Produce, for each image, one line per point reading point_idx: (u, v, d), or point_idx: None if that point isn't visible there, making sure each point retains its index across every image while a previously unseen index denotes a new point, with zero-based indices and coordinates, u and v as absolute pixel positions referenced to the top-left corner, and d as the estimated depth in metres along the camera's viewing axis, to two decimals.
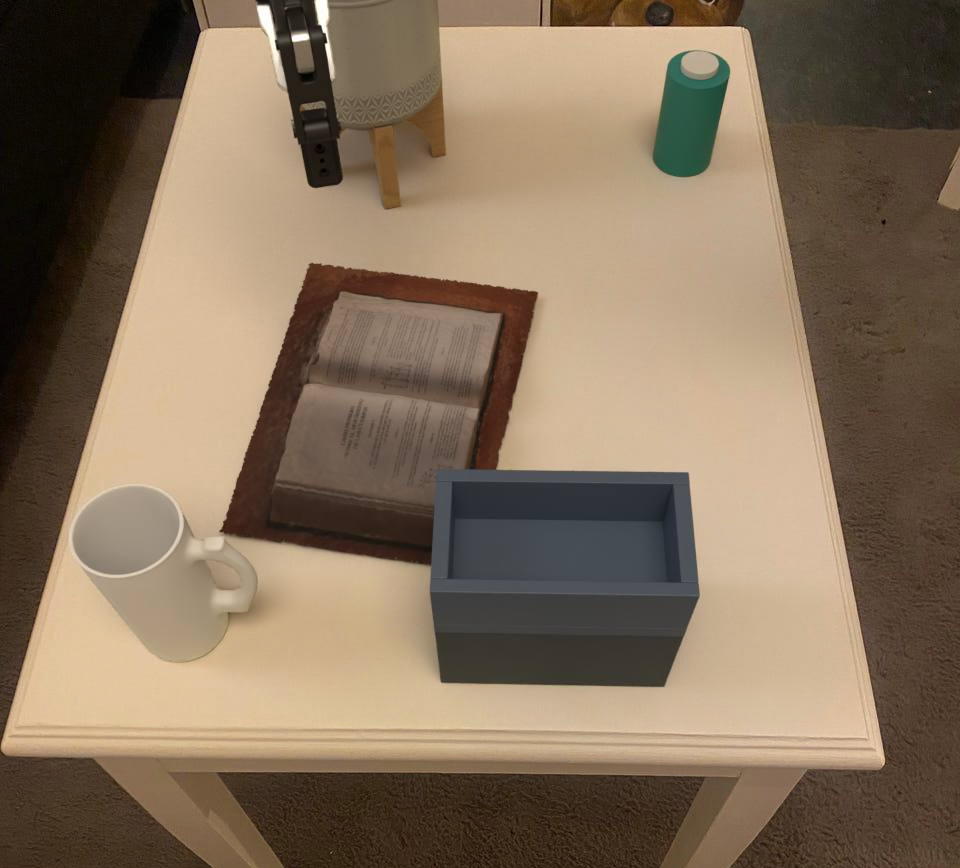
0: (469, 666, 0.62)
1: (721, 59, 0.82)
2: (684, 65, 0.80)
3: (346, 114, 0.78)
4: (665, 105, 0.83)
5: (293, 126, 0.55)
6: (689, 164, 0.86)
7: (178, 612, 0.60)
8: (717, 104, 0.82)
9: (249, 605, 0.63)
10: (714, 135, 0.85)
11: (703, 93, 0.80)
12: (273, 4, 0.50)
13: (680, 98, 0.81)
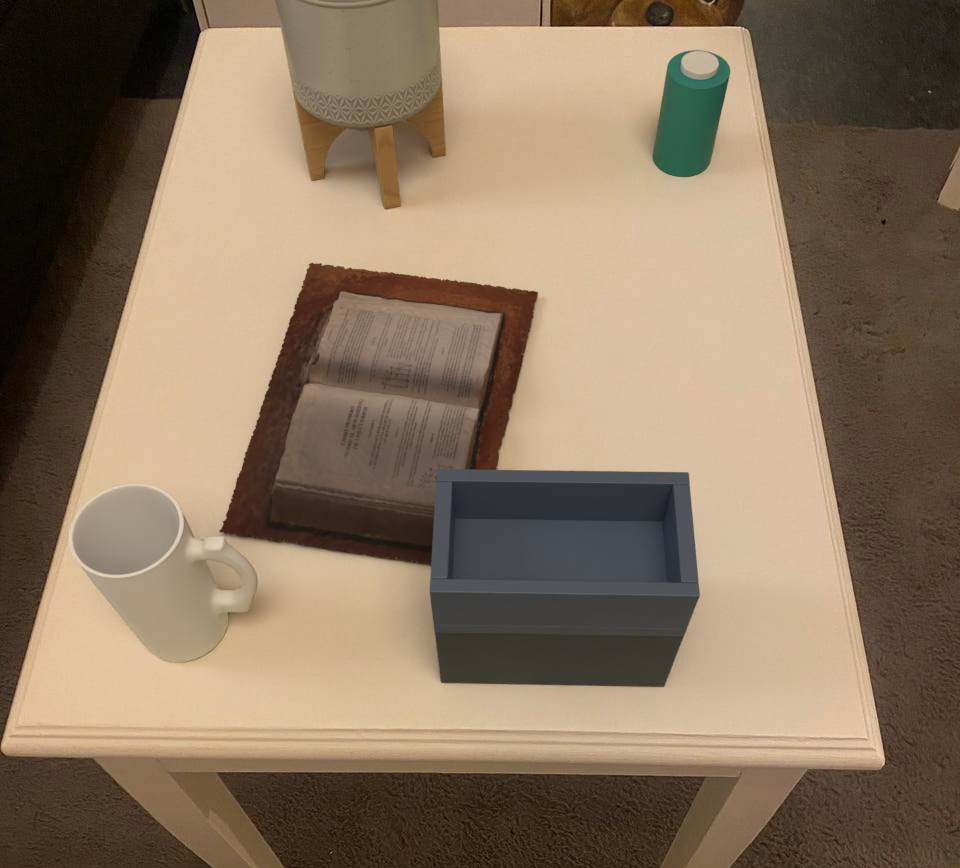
0: (469, 666, 0.62)
1: (721, 59, 0.82)
2: (684, 65, 0.80)
3: (346, 114, 0.78)
4: (665, 105, 0.83)
5: None
6: (689, 164, 0.86)
7: (178, 612, 0.60)
8: (717, 104, 0.82)
9: (249, 605, 0.63)
10: (714, 135, 0.85)
11: (703, 93, 0.80)
12: None
13: (680, 98, 0.81)
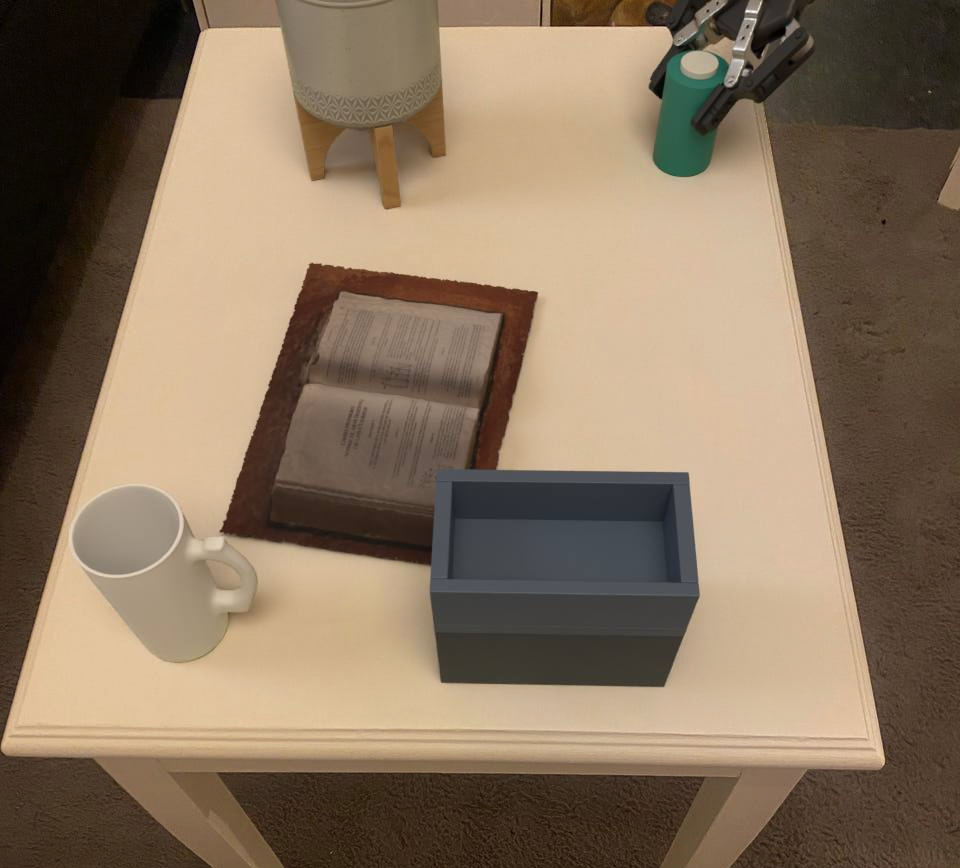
0: (469, 666, 0.62)
1: (721, 59, 0.82)
2: (684, 65, 0.80)
3: (346, 114, 0.78)
4: (664, 105, 0.83)
5: None
6: (689, 164, 0.86)
7: (178, 612, 0.60)
8: None
9: (249, 605, 0.63)
10: (714, 135, 0.85)
11: (703, 93, 0.80)
12: None
13: (680, 98, 0.81)
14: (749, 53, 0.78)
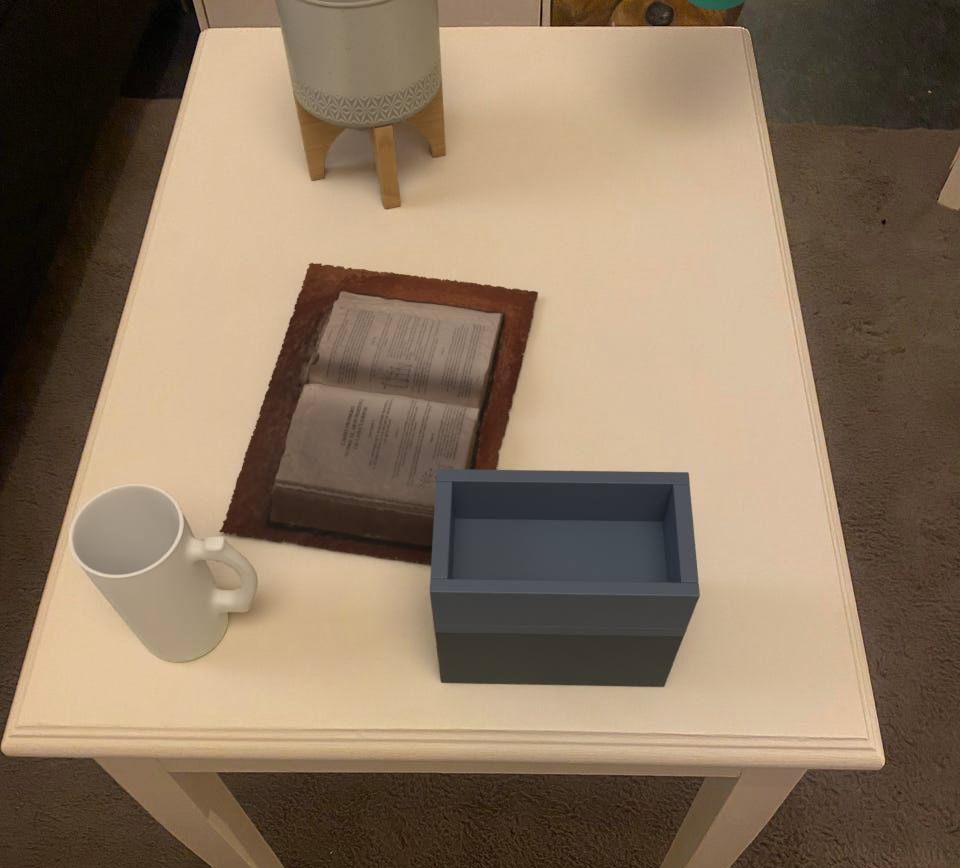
0: (469, 666, 0.62)
1: None
2: None
3: (346, 114, 0.78)
4: None
5: None
6: None
7: (178, 612, 0.60)
8: None
9: (249, 605, 0.63)
10: None
11: None
12: None
13: None
14: None
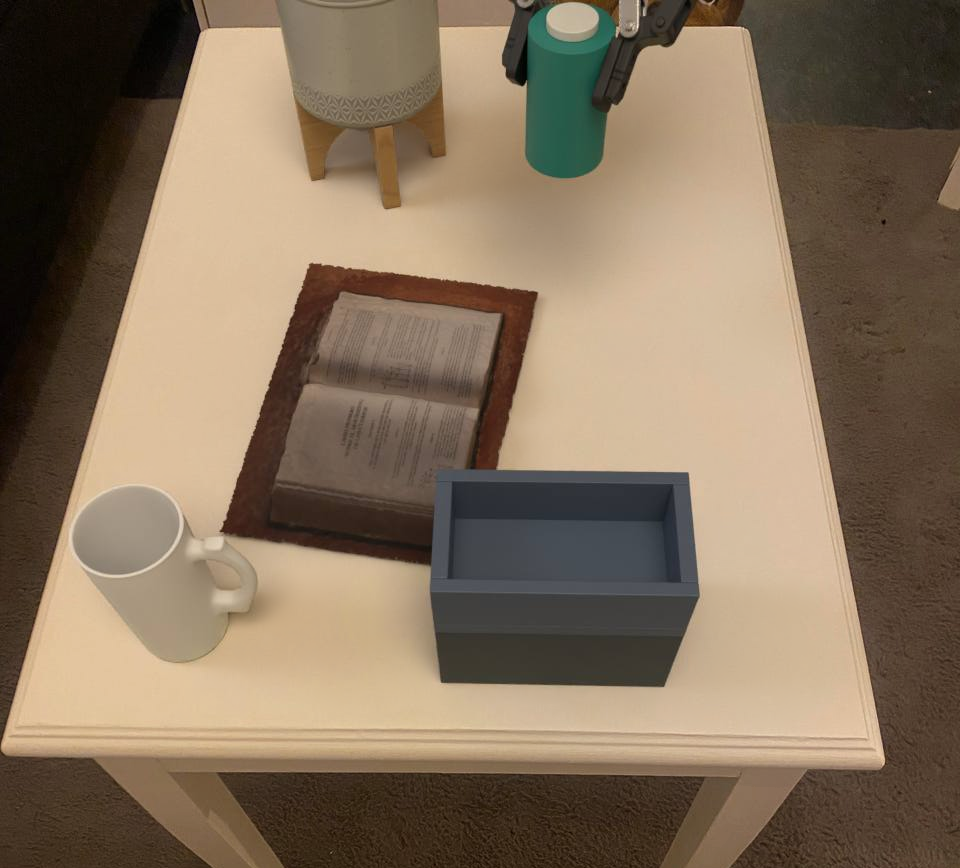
0: (469, 666, 0.62)
1: (589, 6, 0.59)
2: (557, 27, 0.57)
3: (346, 114, 0.78)
4: (542, 90, 0.59)
5: None
6: (589, 156, 0.63)
7: (178, 612, 0.60)
8: None
9: (249, 605, 0.63)
10: None
11: (597, 56, 0.57)
12: None
13: (568, 73, 0.57)
14: None
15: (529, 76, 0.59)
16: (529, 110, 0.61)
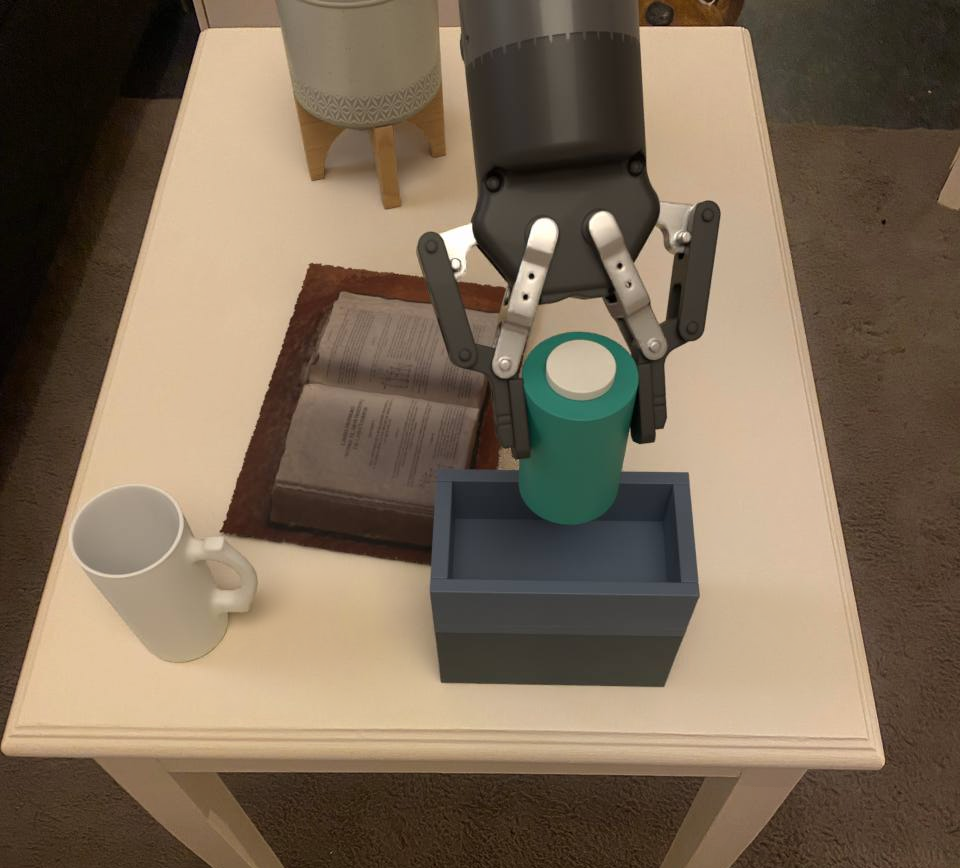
0: (469, 666, 0.62)
1: (571, 335, 0.45)
2: (580, 389, 0.42)
3: (346, 114, 0.78)
4: (573, 457, 0.45)
5: None
6: (619, 482, 0.49)
7: (178, 612, 0.60)
8: None
9: (249, 605, 0.63)
10: None
11: (635, 395, 0.43)
12: None
13: (610, 430, 0.43)
14: None
15: (545, 446, 0.45)
16: (546, 475, 0.47)
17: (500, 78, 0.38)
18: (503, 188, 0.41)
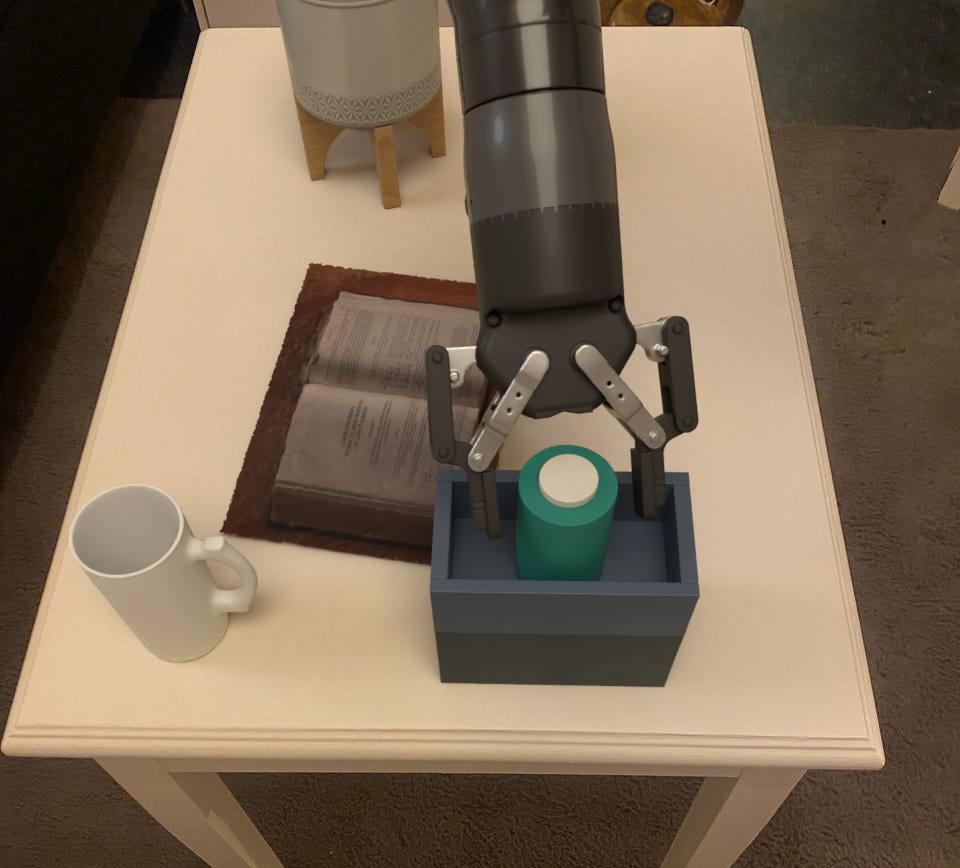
0: (469, 666, 0.62)
1: (560, 448, 0.52)
2: (567, 499, 0.50)
3: (346, 114, 0.78)
4: (562, 552, 0.52)
5: None
6: (602, 566, 0.57)
7: (178, 612, 0.60)
8: None
9: (249, 605, 0.63)
10: None
11: (615, 502, 0.51)
12: None
13: (593, 531, 0.51)
14: None
15: (538, 543, 0.52)
16: (539, 565, 0.54)
17: (499, 239, 0.45)
18: (502, 324, 0.48)
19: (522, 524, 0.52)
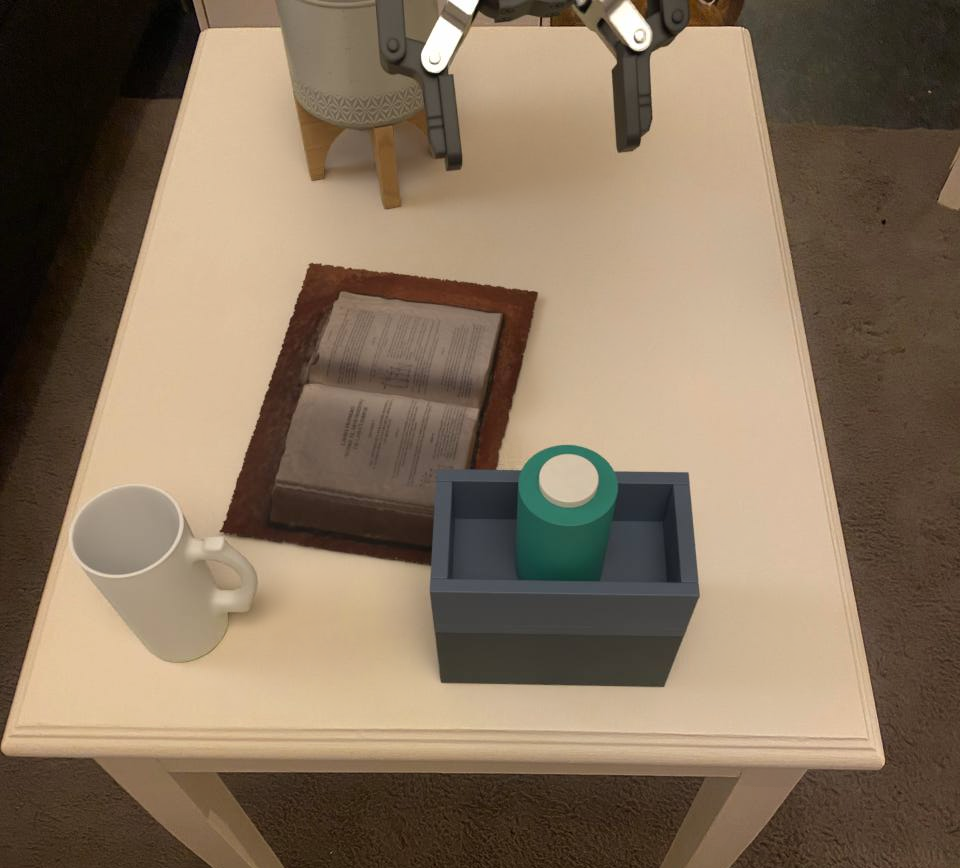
0: (469, 666, 0.62)
1: (560, 448, 0.52)
2: (567, 499, 0.50)
3: (346, 114, 0.78)
4: (562, 552, 0.52)
5: None
6: (602, 566, 0.57)
7: (178, 612, 0.60)
8: None
9: (249, 605, 0.63)
10: None
11: (615, 502, 0.51)
12: None
13: (593, 531, 0.51)
14: None
15: (538, 543, 0.52)
16: (539, 565, 0.54)
17: None
18: None
19: (522, 524, 0.52)
